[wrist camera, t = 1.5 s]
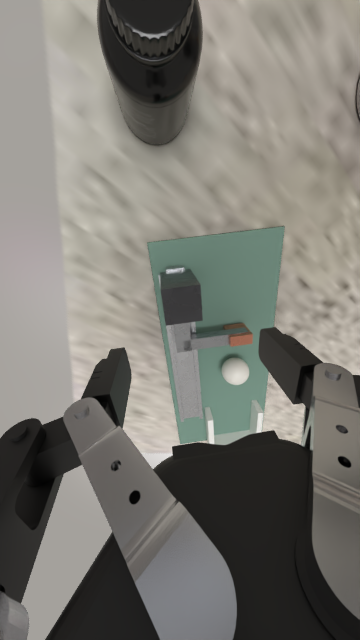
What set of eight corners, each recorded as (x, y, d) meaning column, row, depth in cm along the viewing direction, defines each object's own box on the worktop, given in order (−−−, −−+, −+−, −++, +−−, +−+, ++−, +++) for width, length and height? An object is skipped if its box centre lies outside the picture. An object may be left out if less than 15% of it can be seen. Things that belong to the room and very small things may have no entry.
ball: (243, 350, 34) (254, 367, 30) (242, 370, 36) (253, 388, 32) (218, 354, 34) (225, 371, 30) (218, 374, 36) (226, 392, 32)
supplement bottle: (199, 123, 22) (238, 21, 11) (144, 160, 22) (130, 101, 12) (166, 35, 19) (174, -223, 8) (105, 82, 20) (38, -92, 9)
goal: (256, 399, 40) (263, 412, 37) (253, 432, 44) (259, 445, 41) (204, 407, 39) (207, 421, 37) (206, 439, 44) (209, 453, 41)
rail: (190, 269, 28) (191, 271, 26) (201, 411, 40) (203, 418, 38) (158, 273, 28) (158, 276, 26) (179, 414, 40) (180, 421, 38)
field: (282, 226, 27) (284, 226, 26) (260, 429, 45) (261, 431, 44) (147, 242, 26) (147, 242, 26) (180, 442, 44) (180, 444, 44)
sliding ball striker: (245, 255, 27) (288, 271, 18) (243, 332, 32) (274, 374, 23) (160, 266, 27) (160, 287, 18) (171, 342, 32) (175, 389, 23)
